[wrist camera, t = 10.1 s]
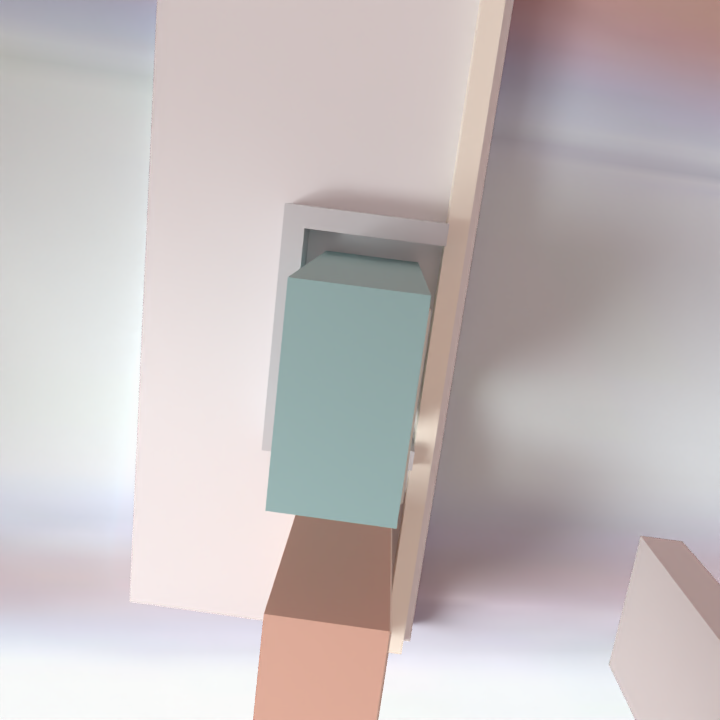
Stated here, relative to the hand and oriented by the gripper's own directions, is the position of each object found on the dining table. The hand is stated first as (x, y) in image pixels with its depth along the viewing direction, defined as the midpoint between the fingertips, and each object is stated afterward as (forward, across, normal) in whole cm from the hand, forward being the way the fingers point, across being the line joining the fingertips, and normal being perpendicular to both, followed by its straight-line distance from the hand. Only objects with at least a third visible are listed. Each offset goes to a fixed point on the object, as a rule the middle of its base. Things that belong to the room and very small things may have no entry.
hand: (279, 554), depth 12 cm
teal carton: (+21, +1, 0) cm, 21 cm away
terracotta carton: (+21, +1, -12) cm, 25 cm away
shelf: (+23, -2, +1) cm, 23 cm away
